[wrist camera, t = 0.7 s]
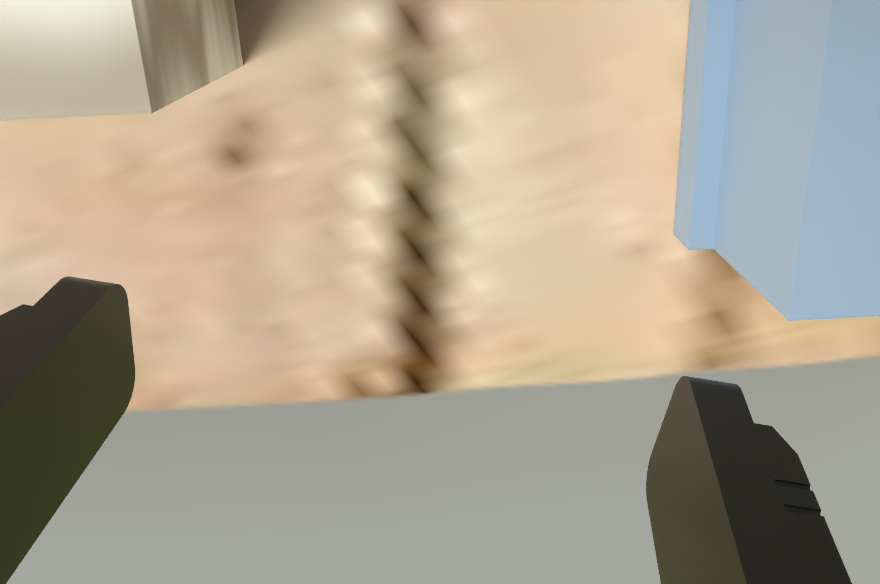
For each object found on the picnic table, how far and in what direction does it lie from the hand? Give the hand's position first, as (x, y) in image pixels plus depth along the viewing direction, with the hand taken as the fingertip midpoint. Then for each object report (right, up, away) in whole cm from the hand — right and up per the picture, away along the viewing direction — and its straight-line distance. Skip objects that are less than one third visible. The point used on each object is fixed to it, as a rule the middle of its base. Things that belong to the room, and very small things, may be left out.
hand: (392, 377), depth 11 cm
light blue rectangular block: (+14, +10, +19) cm, 26 cm away
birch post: (-9, +12, +18) cm, 24 cm away
